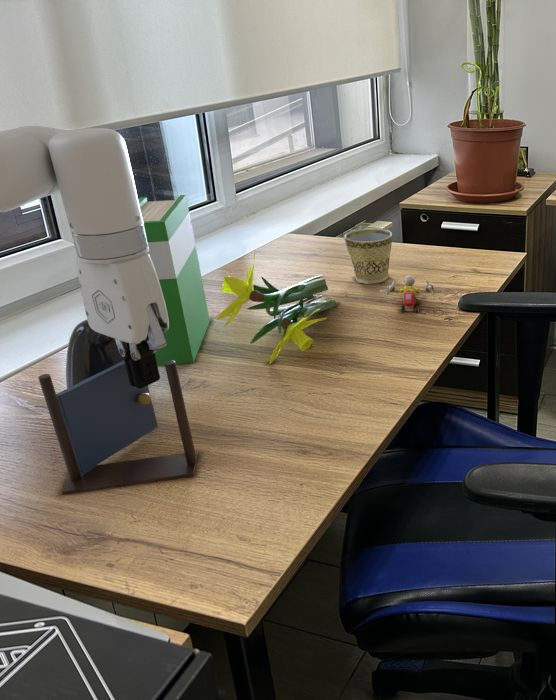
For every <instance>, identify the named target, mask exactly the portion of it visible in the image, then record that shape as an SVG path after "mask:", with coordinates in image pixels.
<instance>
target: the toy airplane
mask: <svg viewBox="0 0 556 700" xmlns="http://www.w3.org/2000/svg"><path fill="white" fill-rule="evenodd" d="M415 281H416V280H415V277H414V276H412V275H406V276H405V277H404V279H403V282H404V284H405V286H404V287H403V288H399V289H396V286H395V283H396V281H395V280H392V283H390V284H387V287H386V289H379V293H380V294H386V296H389V295H390V294H400V295H401V296H403V299H402V304H403V305H401V311H400V312H401V314H402V313H405V312H414V311H415V313H419V310H420V308H419V305H417V296H421V297H422V296H424V295H425V294H431V296H435V294H442V289H435V287H434V285H433V284H432V283H430V282H429V280H428V279H427V280H425V282H426V285H425V289H421V288H418V289H417V288H416V287H415V286H414V285H415ZM414 306H415V307H414Z"/></svg>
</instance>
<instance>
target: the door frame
mask: <svg viewBox="0 0 556 700" xmlns="http://www.w3.org/2000/svg"><path fill="white" fill-rule="evenodd" d="M164 367H165V368H164V369H165V372H166V377H167V380H168V385H169V389H170V394H171V398H172V403H173V407H174V412H175V416H176V421H177V425H178V429H179V435H180V438H181V442H182V447H183V452H184V453H176V454H170V455H163V456H155V457H148V458H147V457H146V458H140V459H132V460H125V461H117V462H110V463H102V464H101V463H100V464H98V465H96V466H94V467H93V468H91V469H90V470H88V471H86V472H85V473H81V472H80V471H79V467H78V464H77V461H76V458H75V454H74V451H73V448H72V445H71V441H70V438H69V435H68V432H67V428H66V425H65V422H64V419H63V415H62V412H61V409H60V406H59V402H58V399H57V396H56V394H57V393H56V389H55V386H54V383H53V379H52V376H51V374H49V373H44V374H41V375H39V376H38V381H39V384H40V388H41V391H42V393H43V398H44V401H45V404H46V407H47V410H48V413H49V415H50V419H51V422H52V426H53V429H54V432H55V436H56V439H57V442H58V445H59V448H60V451H61V454H62V457H63V460H64V464H65V467H66V470H67V473H68V477H67V479H66V481H65V484H64V485H63V488H62V490H61V494H62V496H63V495H70V494H71V495H72V494H78V493H79V494H80V493H86V492H93V491H100V490H109V489H114V488H121V487H122V488H123V487H130V486H135V485H143V484H144V485H145V484H150V483H151V484H152V483H158V482H164V481H170V480H171V481H172V480H179V479H187V478H193V477H195V472H196V467H197V464H198V459H199V451H196V450H195V446H194V440H193V436H192V431H191V428H190V422H189V417H188V414H187V409H186V404H185V400H184V395H183V390H182V386H181V380H180V377H179V372H178V366H177V364H176V362H175V361H173V360H171V361H167V362H165V365H164Z"/></svg>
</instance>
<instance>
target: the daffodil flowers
mask: <svg viewBox="0 0 556 700" xmlns="http://www.w3.org/2000/svg"><path fill="white" fill-rule="evenodd" d="M255 264H256V251H254V252H253V264H252V268H251V267H250V266H248V267H247V273H246V274H247V275H246V280H245V279H242V278H238V277H233V276H230V275H226V276H224V278H223V279H224V280H223V282H222V286H221V285H220V286H221V288H220V291H221V293H227V294H231V295H236V296H237V297H236V299H234V300H233V301H232V302H231V303H230V304H229V305H228V306H227V307H226V308H224V310H222V311H221V313H219V314H218V315H217V316H216V318H214V321H217V320H222V319H225V318H226V317H228V319H227V321H226V322H225V324H224V326H223V328H226V326H228V324H230V323H231V322H233V321H234V320H235V318H236V317H237V315H238V314H239V312H240V311H241V309H242V307H243V305H245V304H247V303H248V301H251V302H254V303H257V304H254V305H252V306H249V307H248V308H246V310H249V311H252V310H254V311H255V310H256V311H257V310H265V312H266V313H267V315H269V316H270V317H273V319H272V320H270V321H269V322H267V323H266V324H264V325H263V326H262V327H261V328H260V329H259V330H258V332H256V334H255V335H254V336H253V338H252V339H251V341H250V343H249V344H250V345H252V344H254V343H256V342H257V341H258V340H259V339H261V338H263V337H264V336H265V335H267V334H268V333H270V331H272V330H274V329H276V328H277V330H278V334H279V335H281V334H282V330H283V332H284V333H283V335H282V336H281V339H280V341H279V343H278V344H277V345H276V347H275V348H274V349H273V350H272V353H271V355H270V358H269V365H270V364H272V363H273V362H274V360H275V359H276V358H277V357H278V355H279V354H280V353H281V351H282V350H283V348H284V347H285V346H286V344H287V343H288V341H291V342H292V343H293V344H295V345H296V346H297V347H298V349H299V350H300V352H304V351H307V350H309V348H311V347H312V346H311V345H313V343H314V339H313V338H311V337H310V336H308V335H306V333H305V331H304V329H306V328H307V327H309V326H311V325H313V324H315V323H317V322H321V321H325V320H327V319H328V317H320V318H314V319H310V317H311V316H313V315H315V314H318V313H321V312H324V311H326V310H329V309H331V308H334V307H336V306H337V301H336V300H335V299H334V298H333V299H330V300H327V301H325V300H324V299H322V300H319V299H321V298H322V297H324V294H320V293H323V292H326V291H329V287H328V285H327V281H326V279H325V278H323V277H324V274H319V275H316V276H313V277H310V278H308V279H305V280H303V281H301V282H298V283H296V284H294V285H291V286H288V287H285V288H284V289H280V288H279V289H278V288H277V287H275V286H274V285H273V284H271V283H270V282H269V281H268V280H267V279H266V278H264V277H263V276H261V277H260V278H261V280H262V282H263V283H264V285H265V286H266V287H264V286H259V285H258V284H254V273H255ZM317 294H320V295H317ZM296 302H297V303H296ZM291 303H294V304H291ZM287 304H290V305H287ZM283 305H285V306H283ZM281 306H282V307H281ZM272 308H273V309H272ZM301 317H302V318H301ZM299 318H300V320H299ZM308 319H310V320H308ZM298 320H299V321H298Z"/></svg>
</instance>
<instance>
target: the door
mask: <svg viewBox="0 0 556 700" xmlns="http://www.w3.org/2000/svg"><path fill="white" fill-rule="evenodd" d="M148 386H149V385H148ZM148 386H146V387H143V388H141V389H139V388H136V387H134V386H131V385H130V382H129V378H128V375H127V371H126V367H125V363H124V361H122V362H120V363H118V364H116V365H114V366H112V367H110V368H108V369H106V370H104V371H102V372H100V373H98V374H96V375H94V376H92V377H90V378H88V379H86V380H84V381H82V382H80V383H78V384H76V385H74V386H72V387H70V388H68V389H67V388H66V389H64V390H62V391H60V392H58V393H56V396H57V399H58V402H59V406H60V409H61V412H62V415H63V419H64V422H65V425H66V428H67V432H68V435H69V438H70V441H71V445H72V448H73V451H74V454H75V458H76V461H77V464H78V467H79V471H80V472H81V473H85V472H86V471H88V470H90V469H91V468H93V467H94V466H96V465H100V464H101V463H103V462H104V461H106V460H107V459H109V458H111V457H112V456H114V455H115V454H118V453H119V452H120V451H122V450H123V449H125V448H126V447H128V446H130V445H131V444H133V443H135V442H137V441H138V440H140V439H141V438H143V437H145V436H146V435H148V434H149V433H151V432H153V431H154V430H156V429H157V428H159V426H158V422H157V417H156V412H155V409H154V404H153V400H152V396H151V392H150V387H149V388H148Z"/></svg>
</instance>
